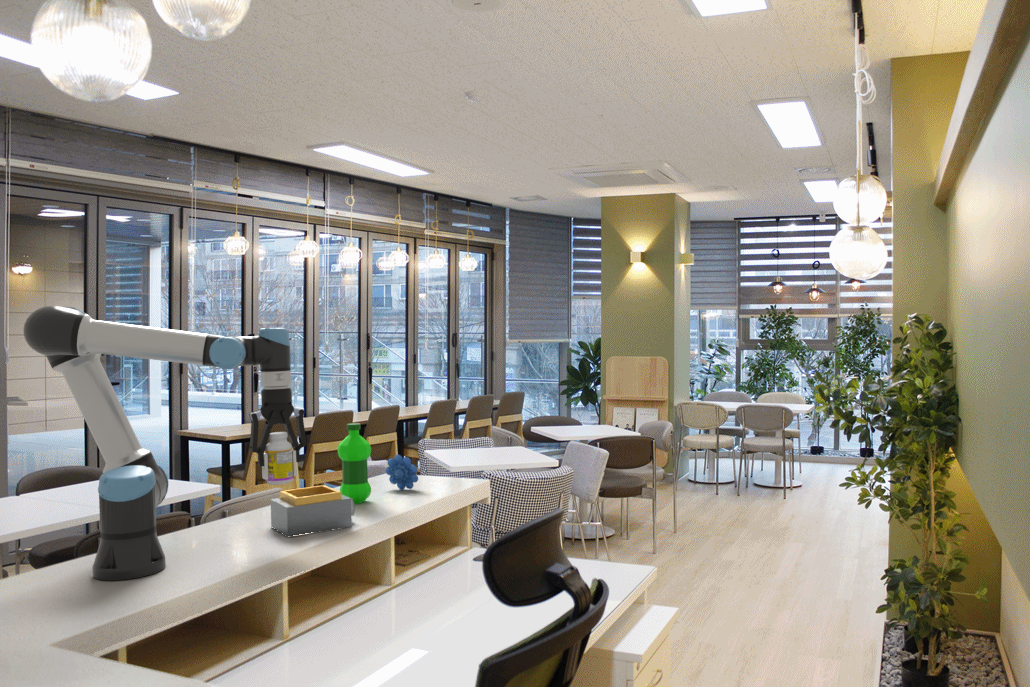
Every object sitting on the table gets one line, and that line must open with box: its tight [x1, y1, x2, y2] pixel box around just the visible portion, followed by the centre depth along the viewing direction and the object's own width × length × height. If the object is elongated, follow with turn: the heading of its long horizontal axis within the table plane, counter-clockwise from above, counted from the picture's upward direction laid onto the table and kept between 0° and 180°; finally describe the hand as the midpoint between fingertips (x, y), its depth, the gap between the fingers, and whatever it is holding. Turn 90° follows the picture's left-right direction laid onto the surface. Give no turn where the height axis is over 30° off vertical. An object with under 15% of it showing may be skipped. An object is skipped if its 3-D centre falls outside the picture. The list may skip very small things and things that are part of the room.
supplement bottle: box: [264, 431, 294, 486], centre depth 204 cm, size 7×7×13 cm
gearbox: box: [270, 484, 356, 537], centre depth 222 cm, size 21×14×10 cm, turn 124°
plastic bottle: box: [337, 422, 372, 505], centre depth 253 cm, size 10×10×25 cm
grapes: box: [385, 454, 419, 491], centre depth 271 cm, size 12×7×12 cm, turn 78°
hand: (279, 476), depth 204 cm, fingers closed on supplement bottle, 7 cm apart
